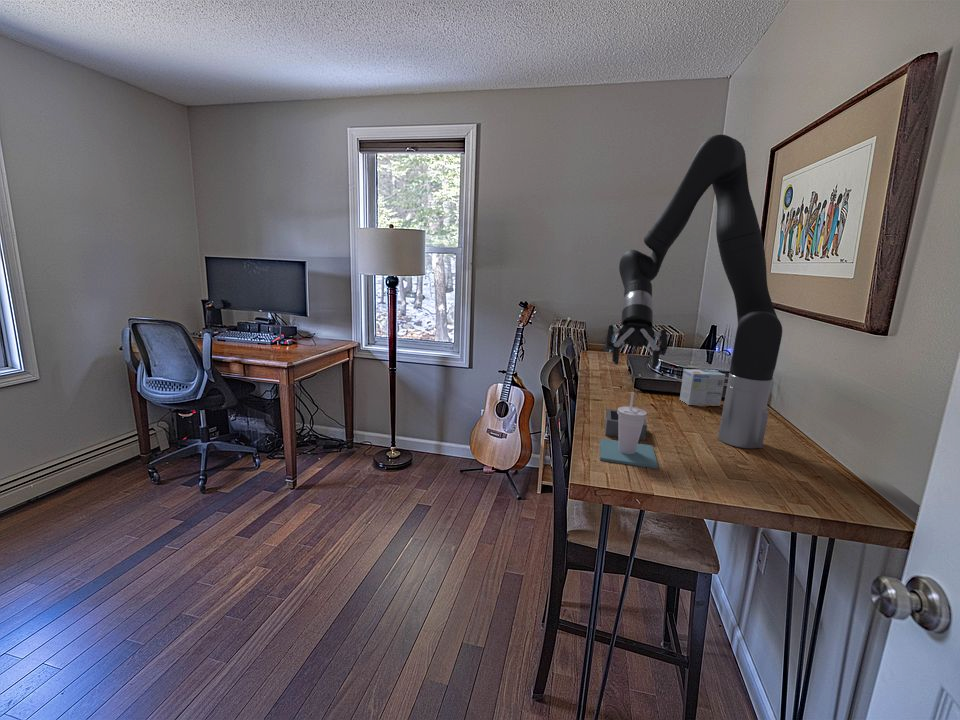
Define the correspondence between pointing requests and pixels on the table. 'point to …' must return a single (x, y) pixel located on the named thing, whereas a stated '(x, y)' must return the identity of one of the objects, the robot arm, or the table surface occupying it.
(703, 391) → the light bulb box
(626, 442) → the smoothie
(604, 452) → the coaster
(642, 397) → the table surface
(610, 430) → the frame
